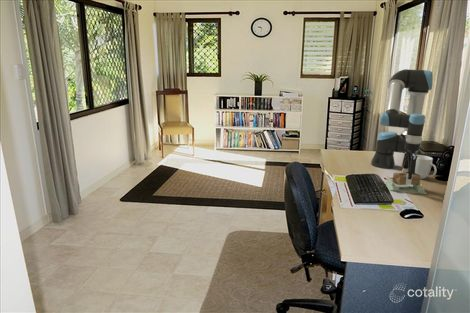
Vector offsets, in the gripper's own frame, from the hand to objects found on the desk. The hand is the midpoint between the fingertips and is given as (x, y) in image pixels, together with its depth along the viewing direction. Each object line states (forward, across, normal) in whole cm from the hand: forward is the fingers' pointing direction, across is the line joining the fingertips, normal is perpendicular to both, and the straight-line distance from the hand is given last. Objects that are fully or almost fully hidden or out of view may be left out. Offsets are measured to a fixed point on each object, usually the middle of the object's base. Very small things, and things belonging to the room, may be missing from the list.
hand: (405, 181), depth 199 cm
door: (+1, 0, 0) cm, 1 cm away
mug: (+4, -24, +16) cm, 29 cm away
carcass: (+4, 0, 0) cm, 4 cm away
